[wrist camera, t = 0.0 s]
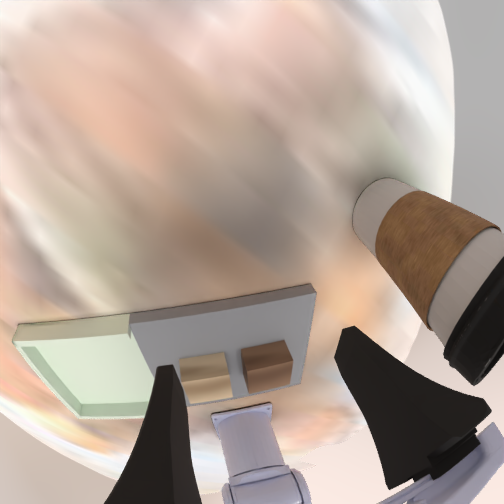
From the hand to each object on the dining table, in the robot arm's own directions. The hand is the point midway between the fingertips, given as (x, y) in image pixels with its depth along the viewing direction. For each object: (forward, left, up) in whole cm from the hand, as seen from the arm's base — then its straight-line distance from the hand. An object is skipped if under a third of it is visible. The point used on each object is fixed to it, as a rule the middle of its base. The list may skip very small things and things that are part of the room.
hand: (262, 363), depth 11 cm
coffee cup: (+1, -13, -10) cm, 17 cm away
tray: (-12, +14, -10) cm, 21 cm away
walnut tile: (-12, -2, -9) cm, 15 cm away
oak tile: (-12, +3, -9) cm, 15 cm away
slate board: (-12, +1, -10) cm, 16 cm away
